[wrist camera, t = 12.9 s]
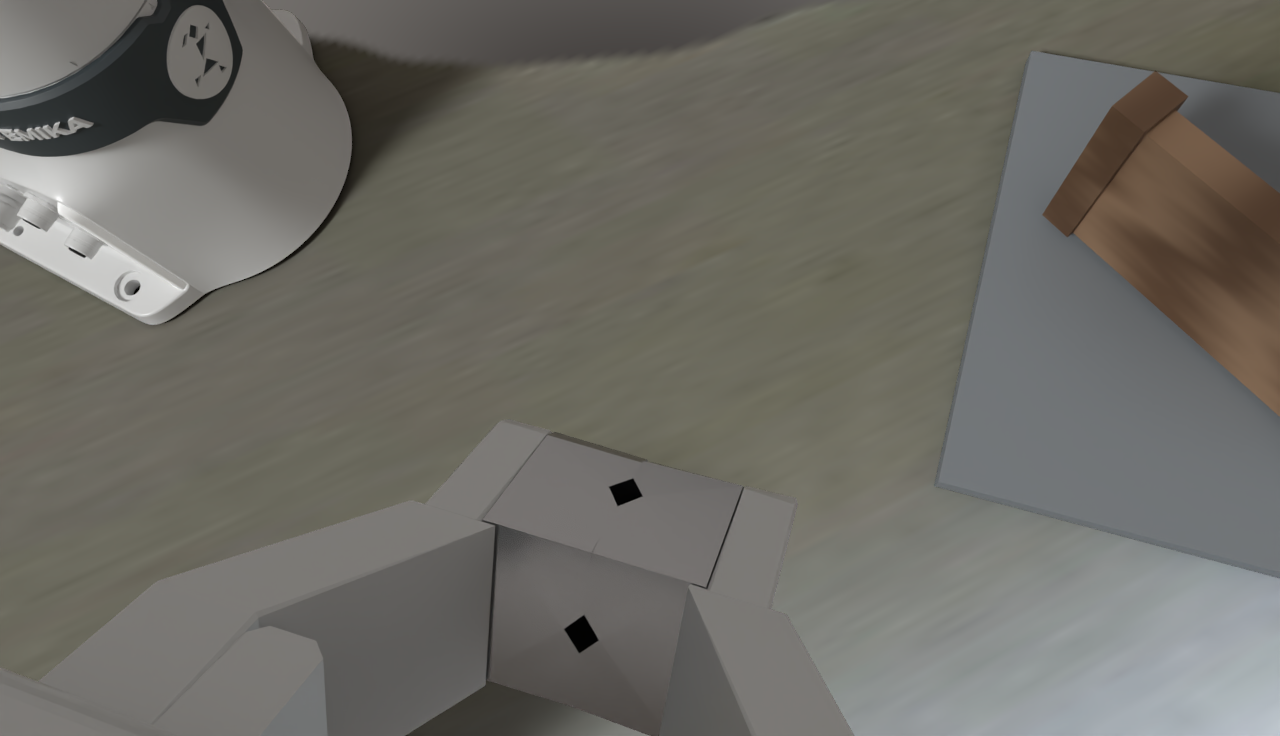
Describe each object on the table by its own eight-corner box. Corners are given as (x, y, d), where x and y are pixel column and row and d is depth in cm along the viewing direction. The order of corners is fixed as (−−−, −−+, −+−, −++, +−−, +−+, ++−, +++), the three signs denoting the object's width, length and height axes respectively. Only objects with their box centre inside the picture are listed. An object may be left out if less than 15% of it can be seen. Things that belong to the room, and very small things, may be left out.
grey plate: (933, 486, 40) (938, 481, 39) (1025, 63, 45) (1031, 50, 44) (1285, 579, 37) (1299, 577, 36) (1335, 117, 43) (1348, 104, 42)
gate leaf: (1041, 214, 41) (1111, 105, 33) (1077, 185, 41) (1155, 70, 33) (1323, 466, 37) (1484, 410, 29) (1362, 432, 37) (1532, 367, 29)
